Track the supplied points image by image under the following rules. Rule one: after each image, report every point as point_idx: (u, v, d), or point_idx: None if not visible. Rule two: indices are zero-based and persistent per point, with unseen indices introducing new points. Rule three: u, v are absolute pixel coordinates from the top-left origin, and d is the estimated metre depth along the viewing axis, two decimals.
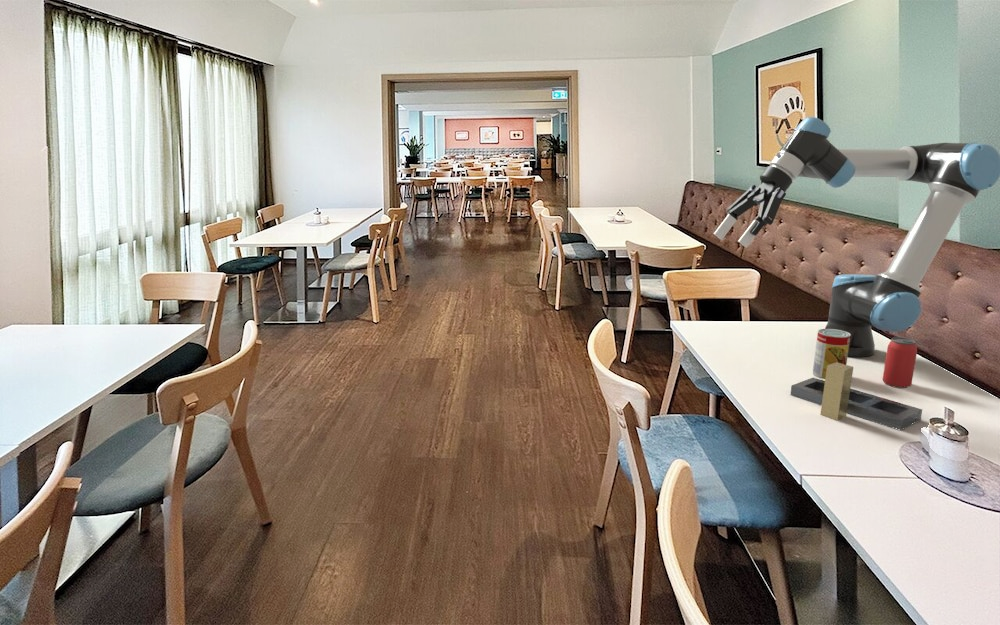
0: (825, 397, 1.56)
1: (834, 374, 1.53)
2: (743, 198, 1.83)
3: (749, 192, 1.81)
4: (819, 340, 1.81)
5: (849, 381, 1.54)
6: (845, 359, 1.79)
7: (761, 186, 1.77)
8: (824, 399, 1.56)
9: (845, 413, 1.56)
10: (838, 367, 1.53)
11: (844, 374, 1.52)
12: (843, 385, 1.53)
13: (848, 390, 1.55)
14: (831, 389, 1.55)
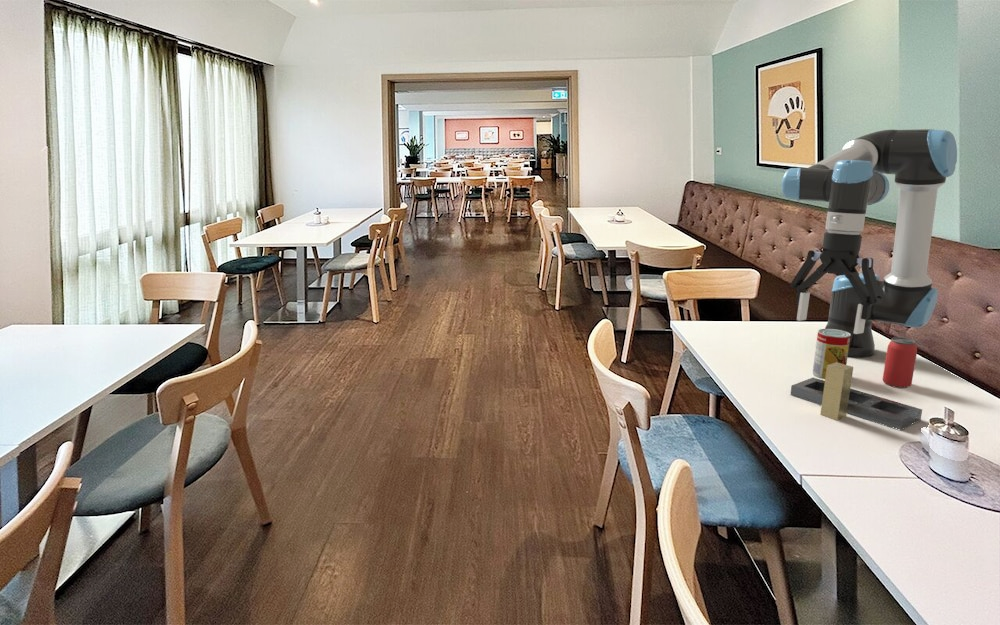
0: (825, 397, 1.56)
1: (834, 374, 1.53)
2: (806, 269, 1.57)
3: (811, 261, 1.55)
4: (819, 340, 1.81)
5: (849, 381, 1.54)
6: (845, 359, 1.79)
7: (828, 254, 1.52)
8: (824, 399, 1.56)
9: (845, 413, 1.56)
10: (838, 367, 1.53)
11: (844, 374, 1.52)
12: (843, 385, 1.53)
13: (848, 390, 1.55)
14: (831, 389, 1.55)
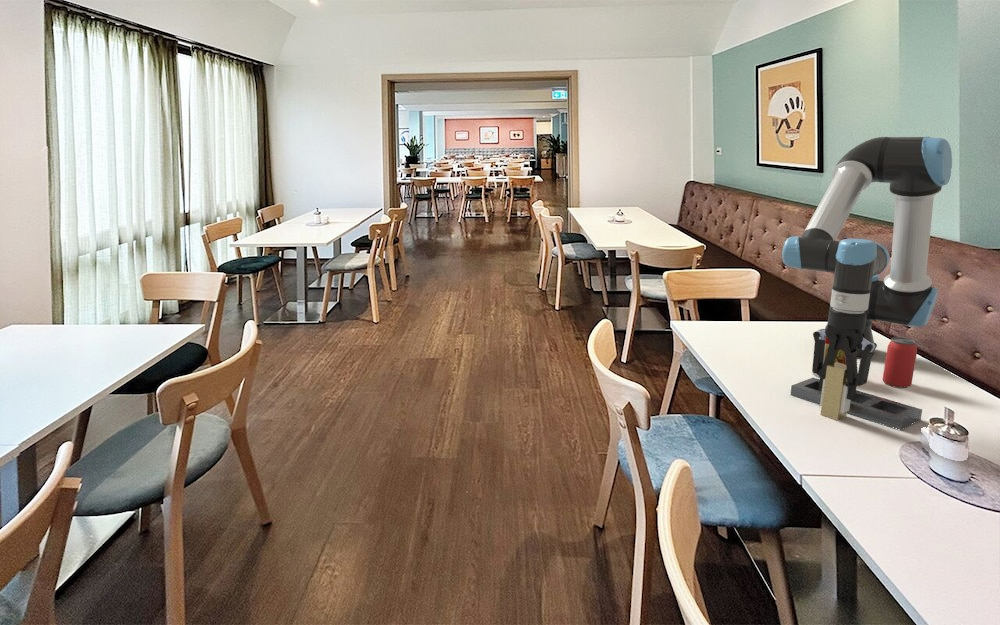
0: (825, 397, 1.56)
1: (834, 374, 1.53)
2: (820, 350, 1.57)
3: (820, 341, 1.56)
4: None
5: None
6: (845, 359, 1.79)
7: (832, 328, 1.53)
8: (824, 399, 1.56)
9: (845, 413, 1.56)
10: (838, 367, 1.53)
11: (844, 374, 1.52)
12: (843, 385, 1.53)
13: None
14: (831, 389, 1.55)
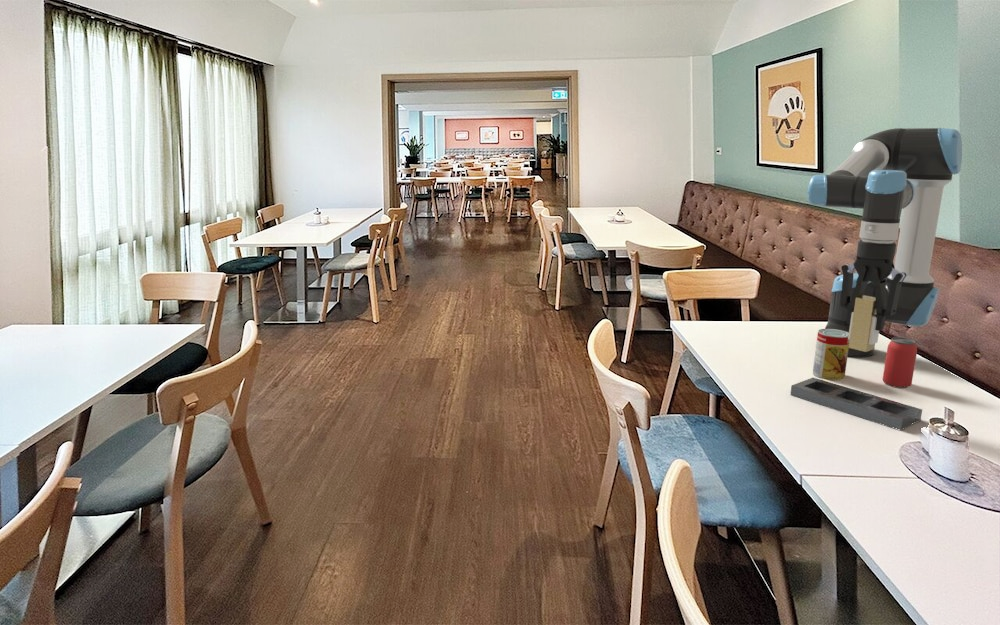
0: (853, 329, 1.58)
1: (863, 305, 1.55)
2: (848, 283, 1.58)
3: (848, 274, 1.58)
4: (819, 340, 1.81)
5: None
6: (845, 359, 1.79)
7: (861, 260, 1.55)
8: (852, 331, 1.58)
9: (873, 345, 1.58)
10: (866, 299, 1.55)
11: (873, 305, 1.54)
12: (872, 316, 1.54)
13: None
14: (860, 321, 1.56)
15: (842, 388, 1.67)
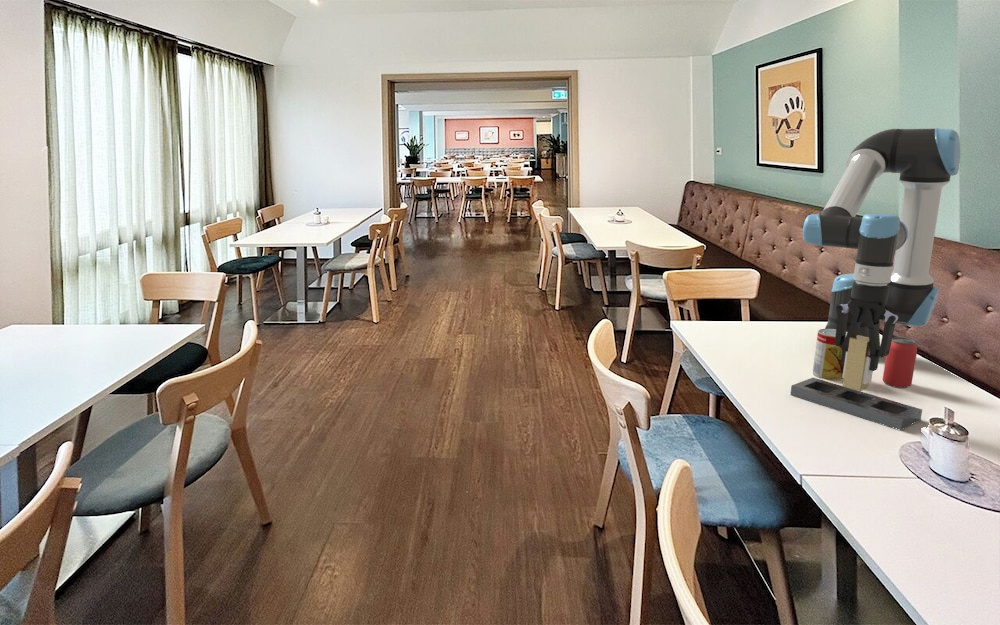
0: (848, 369, 1.60)
1: (857, 346, 1.57)
2: (842, 323, 1.61)
3: (843, 314, 1.60)
4: (819, 340, 1.81)
5: None
6: None
7: (855, 301, 1.57)
8: (847, 371, 1.60)
9: (867, 385, 1.60)
10: (860, 339, 1.57)
11: (867, 346, 1.56)
12: (865, 356, 1.56)
13: None
14: (854, 361, 1.58)
15: (842, 388, 1.67)
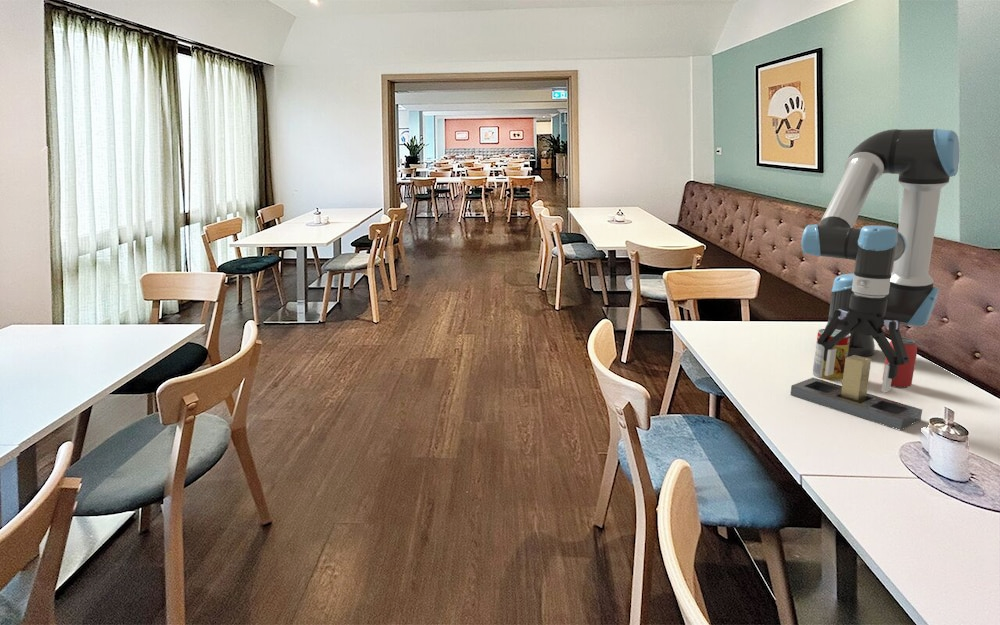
0: (844, 389, 1.61)
1: (852, 366, 1.59)
2: (833, 327, 1.63)
3: (838, 320, 1.61)
4: None
5: (867, 373, 1.60)
6: None
7: (855, 314, 1.58)
8: (843, 391, 1.62)
9: None
10: (856, 359, 1.59)
11: (862, 366, 1.57)
12: (861, 376, 1.58)
13: (866, 382, 1.60)
14: (850, 381, 1.60)
15: None
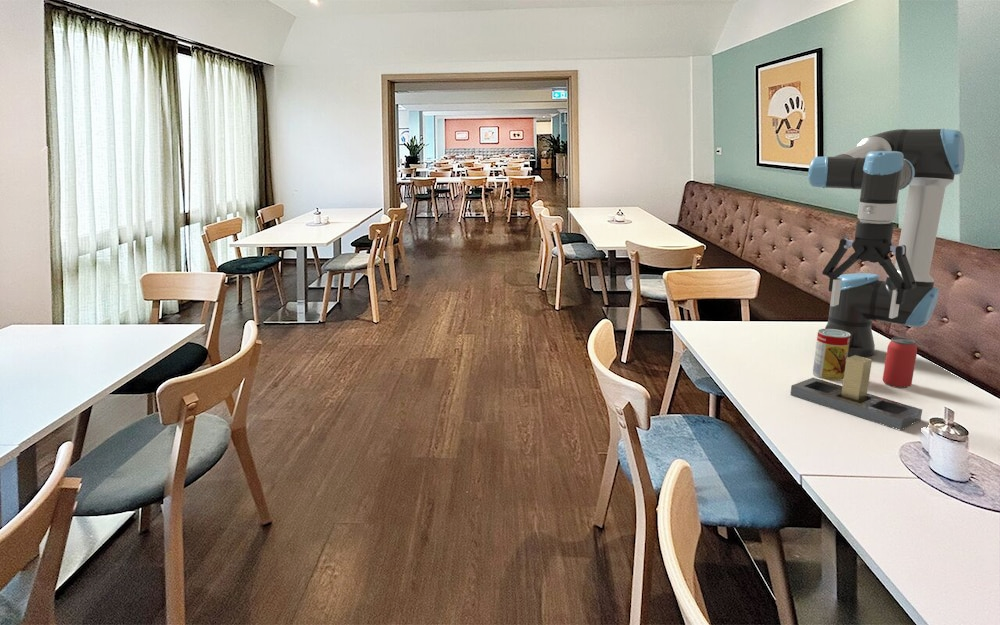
0: (844, 389, 1.61)
1: (853, 366, 1.59)
2: (839, 256, 1.62)
3: (843, 249, 1.61)
4: (819, 340, 1.81)
5: (868, 373, 1.59)
6: (845, 359, 1.79)
7: (861, 242, 1.57)
8: (843, 391, 1.62)
9: None
10: (857, 360, 1.59)
11: (863, 367, 1.57)
12: (862, 377, 1.58)
13: (866, 382, 1.60)
14: (850, 381, 1.60)
15: None
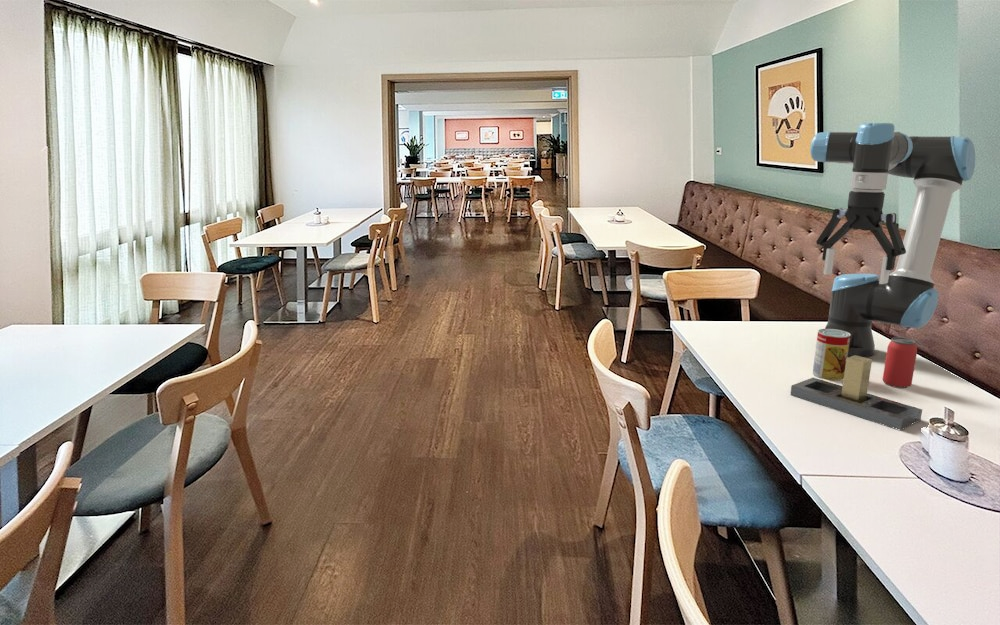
0: (844, 389, 1.61)
1: (853, 366, 1.59)
2: (832, 226, 1.68)
3: (836, 218, 1.67)
4: (819, 340, 1.81)
5: (868, 373, 1.59)
6: (845, 359, 1.79)
7: (853, 211, 1.63)
8: (843, 391, 1.62)
9: None
10: (857, 360, 1.59)
11: (863, 367, 1.57)
12: (862, 377, 1.58)
13: (866, 382, 1.60)
14: (850, 381, 1.60)
15: None
